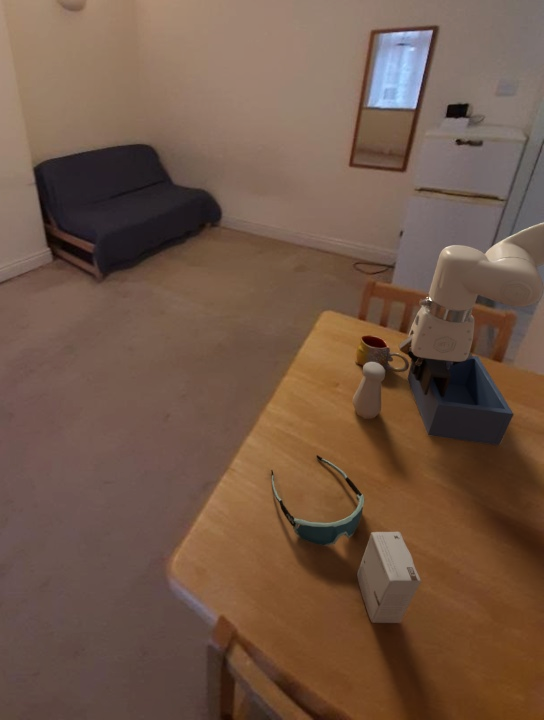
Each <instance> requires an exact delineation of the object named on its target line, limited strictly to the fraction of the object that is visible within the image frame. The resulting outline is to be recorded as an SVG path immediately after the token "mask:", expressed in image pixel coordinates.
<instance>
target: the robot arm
mask: <svg viewBox="0 0 544 720" xmlns="http://www.w3.org/2000/svg"><path fill="white" fill-rule="evenodd" d="M542 265H544V222H541V223H537V224H534V225H532V226H529V227H527V228H525V229H523V230H520V231H518V232H516V233H514V234H512V235H510V236H507V237H505V238H504V239H502V240H500V241H498V242H497V243H495V244H493V245H492V246H491V247H490V248H489V249H487V251H486V252H485V253H484V252H483V251H481V250H479V249H477V248H474V247H472V246H468V245H463V244H452V245H449V246H446V247H444V248H443V249H442V250H441V251H440V253H439V256H438V259H437V262H436V265H435V266H436V267H435V270H434V274H433V276H432V277H433V278H432V279H431V285H430V288H429V292H428V293H427V294H426V298H419V300H418V305H419V306H420V309H419V310H418V312H417V313H416V315H415V317H414V320H413V322H412V325H411V327H410V330H409V333H408V336H407V337H406V338H405V339H404V340H403V341H402V342H400V344H398V348H399V351H400V353H402V354H405V355H407V356H408V357H409V358H410V360H411V359H412V360H413V363H412V366H411V365H410V366H411V372H412V374H414V376H415V379H416V380H418V381H419V380H420V378H421V375H422V371H423V368H424V367H423V364H422V363H423V361H424V359H425V358H429V359H437V360H443V361H444V363H445V365H446V367H447V369H452V367H453V365H456V364H458V363H460V362H461V361H465V360H468V359H472V358H473V356H474V355H473V354H472V352H471V348H472V344H473V340H474V333H475V317H474V316H473V315H472V313H473V310H474V309H475V308H474V307H475V305H476V301H477V299H478V296H481V297H483V298H485V299H488V300H491V301H494V302H496V303H499V304H502V305H505V306H510V307H518V308H520V307H521V308H522V307H528V306H531V305H534V304H535V303H537V302H539V301H540V299H541V298H542V296H543V294H544V282H543V279H542V277H541V275H540V272H539V269H538V267H540V266H542Z"/></svg>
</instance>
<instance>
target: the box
mask: <svg viewBox="0 0 544 720" xmlns="http://www.w3.org/2000/svg"><path fill="white" fill-rule="evenodd" d="M472 356H473V358H472V359H468V360H465V361H461V362H460V363H458V364H456V365H453V367H452V369H448V371H449V373H450V375H451V377H450V380H449V383H448V386H447V389H446V392H445V395H444V397H441V395H440V393H439V391H438V389H437V386H436V384H435V382H434V379H433V378H432V381H431V384H430V387H429V390H428V393H427V395H424V392H423V390H422V387H421V385H420V382H419V381H418V380H416V379H415V376H414V374H412V372H411V366H412V362H411V361H410V362H411V363H410V365H409V370H408V373H407V377H406V379H407V382H408V385H409V388H410V390H411V393H412V396H413V398H414V401H415V404H416V406H417V410H418V412H419V414H420V417H421V420H422V423H423V425H424V428H425V431H426V433H427V436H430V437H436V438H443V439H449V440H450V439H451V440H457V441H465V442H471V443H478V444H485V445H493V446H500V445H501V443H502V441H503V439H504V436H505V435H506V432H507V430H508V427H509V425H510V424H511V421H512V419H513V417H514V412H513V410H512V409H511V407H510V405H509V403H508V402H507V401H506V399H505V397H504V396H503V394H502V392H501V391H500V389H499V388H498V386H497V385H496V383H495V381H494V379H493V378H492V376H491V375H490V373H489V372H488V370H487V368H486V367H485V365H484V364H483V362H482V361H481V358H479V356H478V355H472Z"/></svg>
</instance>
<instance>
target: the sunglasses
mask: <svg viewBox="0 0 544 720" xmlns="http://www.w3.org/2000/svg"><path fill="white" fill-rule="evenodd" d="M316 459H317V460H319V461H321V462H322V463H323V464H326V465H328V466H329V467H331V468H332V469H333V470H335V471H336V472H338V473H339V474H340V476H342V477H343V479H344V480H345V482H346V483H347V486H349V487H350V489H351V490H352V491H353V492H354V494H355V495H356V497H355V499H356V500H357V502H358V505H357V507H356V508H355V509H354V510H353V511H352V513H350V515H348V516H347V517H345V518H342V519H340V520H337V521H333V522H319V521H318V522H317V521H308V520H304V519H301V518H296V517H294V516H293V515H292V514H291V513H290V511H289V510H288V508H287V507H286V506H285V504H284V502H283V500H282V498H280V496H279V495H278V492H277V490H276V487H275V481H274V480H275V478H274V477H275V476H274V471H273V469H271V470H270V471H271V486H272V492H273V494H274V497H275V499H276V500H277V502H278V503H279V506H280V509H281V511H282V513H283V515H284V516H285V518H286V519H287V521H288V522H289V524H290V525H291V527H292V530H293V531H294V534H296V535H297V537H298V538H300V539H302V540H303V541H307V542H309V543H312V544H315V545H318V546H330V545H331V546H332V545H335V544H336V543H337V542H338V540H339V539H340V538H341V537H343V536H346V538H347V539H350V538H351V537H352V536H354V533H355V531H356V530H357V528H358V526H359V525H360V521H361V518H362V514H363V510H364V503H365V495H364V494H362V493H361V491H360V490H359V488H358V487H357V486H356V484H355V483H354V482H353V481H352V480H351V479H350V478H349V477H348V475H347V474H346V472H345V471H343V470H342V469H341V468H340V467H338V466H337V465H336V464H335V463H332V462H331V461H329V460H328V459H325V458H323V457H321V456H320V455H318V454H316Z"/></svg>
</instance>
